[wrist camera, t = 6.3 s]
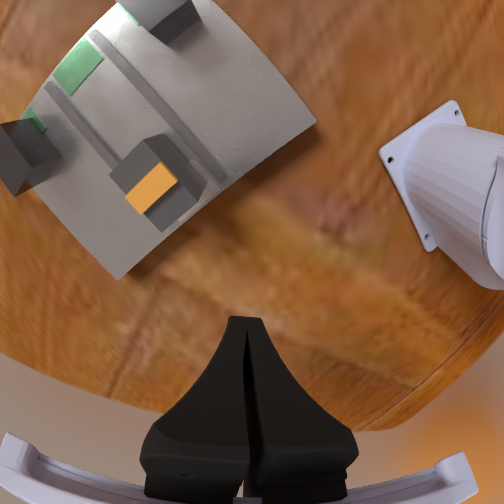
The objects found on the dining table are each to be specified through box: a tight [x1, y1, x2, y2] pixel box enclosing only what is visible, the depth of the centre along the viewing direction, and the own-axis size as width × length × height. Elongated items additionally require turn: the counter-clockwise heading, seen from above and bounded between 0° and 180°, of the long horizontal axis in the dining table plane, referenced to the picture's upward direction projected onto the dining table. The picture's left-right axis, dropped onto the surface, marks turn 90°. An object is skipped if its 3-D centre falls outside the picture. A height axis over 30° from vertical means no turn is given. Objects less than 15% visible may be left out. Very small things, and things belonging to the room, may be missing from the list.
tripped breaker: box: [109, 133, 207, 233], centre depth 15 cm, size 4×2×4 cm, turn 38°
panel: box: [0, 0, 317, 281], centre depth 14 cm, size 14×17×5 cm
